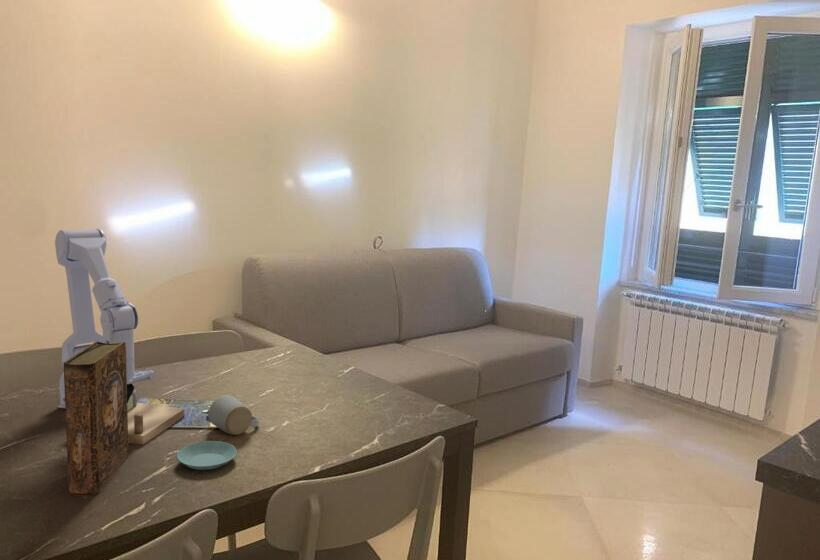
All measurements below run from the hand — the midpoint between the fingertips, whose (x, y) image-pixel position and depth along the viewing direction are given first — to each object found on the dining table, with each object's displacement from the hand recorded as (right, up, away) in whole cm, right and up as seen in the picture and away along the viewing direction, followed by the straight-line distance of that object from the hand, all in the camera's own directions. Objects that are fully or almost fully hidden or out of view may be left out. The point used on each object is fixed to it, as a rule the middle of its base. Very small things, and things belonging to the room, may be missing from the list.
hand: (122, 415), depth 145 cm
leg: (-3, 0, +3) cm, 4 cm away
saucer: (+24, -7, -13) cm, 28 cm away
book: (+5, -7, -21) cm, 23 cm away
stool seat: (+1, -3, +3) cm, 4 cm away
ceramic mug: (+25, -4, +4) cm, 26 cm away
